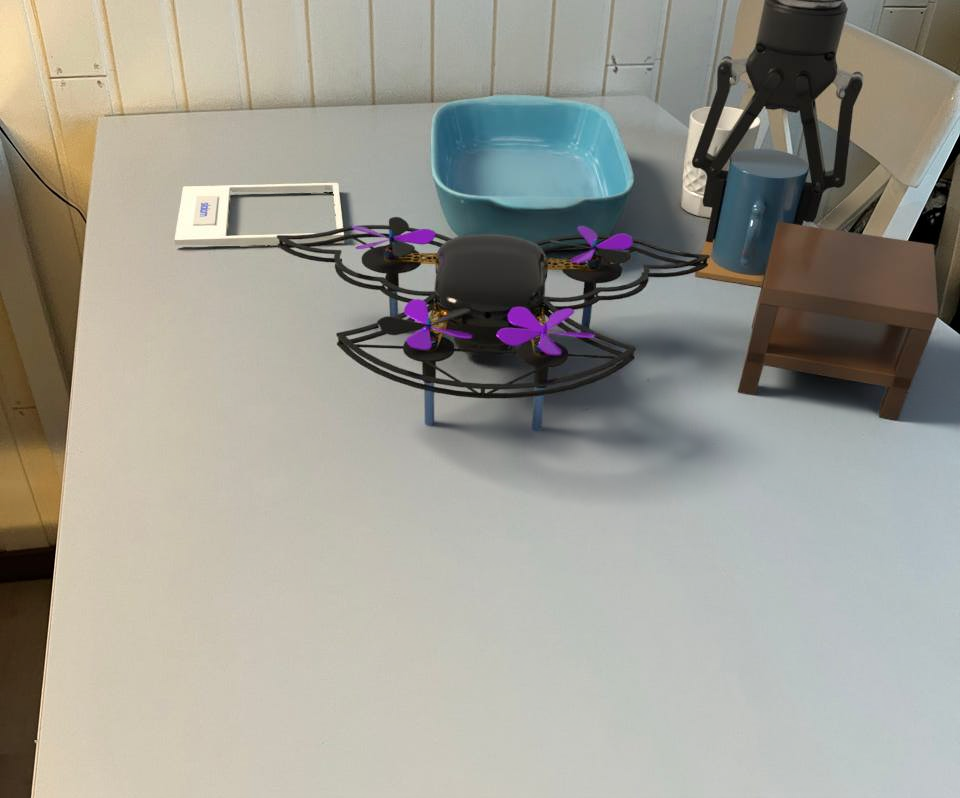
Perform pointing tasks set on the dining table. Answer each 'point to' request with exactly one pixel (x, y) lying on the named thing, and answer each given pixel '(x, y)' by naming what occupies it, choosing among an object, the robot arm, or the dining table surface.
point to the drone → (488, 302)
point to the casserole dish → (529, 167)
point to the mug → (756, 207)
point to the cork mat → (725, 271)
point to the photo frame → (209, 213)
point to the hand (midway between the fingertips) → (750, 243)
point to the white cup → (697, 177)
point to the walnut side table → (844, 309)
